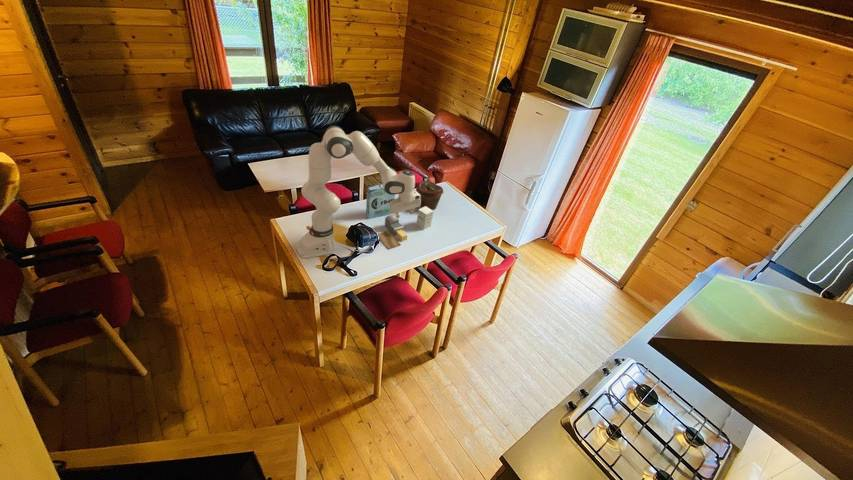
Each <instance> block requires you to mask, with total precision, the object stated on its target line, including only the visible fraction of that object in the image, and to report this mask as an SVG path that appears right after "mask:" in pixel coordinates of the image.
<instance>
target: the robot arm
mask: <svg viewBox="0 0 853 480" xmlns="http://www.w3.org/2000/svg"><path fill="white" fill-rule="evenodd" d="M320 140H321V142H314V143H313V144H311V146H309V152H308V179H307V182H305V183H303V185H302V187H301V192H300V193H301V195H302V196H303V197H304V199H305V200H307V201H308V202H309V203H310V204H313V206H315V210H314V211H313V213H312V214H311V222H312V223H311V226H309V225H306V230H307V231H308V232H307V233H306V234H304V235H303V236H302V237H301V238H300V241H299V242H298V243H297V244H296V246H295V248H296V251H297V254H299V256H300V257H302V258H304V259H310V258H317V257H323V256H327V255H331V254H332V253H333V250H334V249H335V248H336V246H337V244H336V241H335V238H334V225H333V214H335V213H337V211H338V210H339V209H340V207H341V199H340V198H339V197H338V196H337V195H336V193H334V192H332V191H331V190H330V189H328V188H327V187H326V184H327V183H329V181H330V180H331V179H332V158H334V159H343V158H345V157H346V156H349V155H351V154H353V155H354V156H355V158H356V159H357V160H358V161H359V163H361V164H362V165H364V166H365V167H371V166H372V167H373V168H374V169H375V170H376V171H377V172H378V174H379V177H380V180H381V184H383V186H384V189H385V192H386V193H388V194H390V195H395V196H396V195H398V197H397V198H395V199H393V200H392V201H391V202H390V208H389V211H390V212H391V215H393V214H396V218H398V219H399V218H400V216H401V215H400V214H399V213H402V212H405V211H409V215H413V214H414V211H415V210H416V208H419V207H420V205H421V199H420V198H421V195H420V194H419V193H418V192H417V191H416V189H415V187H416V177H415V174H414V172H413V171H412V170H409V169H402V170H401V171H400V172H399V173H398V172H397V170H396V169H394V168H393V167H391V166H389V165H388V164H387V163H386V162H385V161H384V159H383V158H382V157H381V156H380V153H379V151H378V150H377V147H376V146H375V145H374V143H372V141H371V140H370V139H369V138H368V137H367V136H366V135H365V134H364V133H363V132H362V131H359V130H355V131H352V132H351V133H349V134H346V132H345V130H343V128H342V127H340V126H338V125H330V126H329V127H327V128H326V130H325V131H324V132H323V135H322V137H321V139H320ZM414 189H415V190H414Z"/></svg>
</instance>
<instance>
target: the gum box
mask: <svg viewBox="0 0 853 480" xmlns="http://www.w3.org/2000/svg"><path fill="white" fill-rule="evenodd" d="M393 199H396V194H395V195H390V194H388V193H386V192H385V189H384V186H383V183H379V184H373V185H369V186H366V202H365V203H366V207H365V208H366V209H365V216H366V217H367V220H371V219H375V218H379V217H383V216H387V215H390V214H391V215H392V213H391V212H390V211H389V208H390V202H391V201H392V200H393Z"/></svg>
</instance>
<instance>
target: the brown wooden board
mask: <svg viewBox="0 0 853 480" xmlns="http://www.w3.org/2000/svg"><path fill="white" fill-rule="evenodd" d="M377 234H378V236H379V239H378V240H379V241H380V242H381V243H382V244H383V245H384V246H385V248H386V249H387V250H390V249H395V248H396V247H400V246H401V245H402V244H401V243H400V242H399V241H398V240H397V239H396V238H395V236H393V234H392V233H391V232H390V231H389V230H385V231H383V232H379V233H377Z"/></svg>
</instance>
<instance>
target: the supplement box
mask: <svg viewBox="0 0 853 480" xmlns="http://www.w3.org/2000/svg"><path fill="white" fill-rule="evenodd" d="M433 215H434V210H431V209H429V208H428V207H426V206H425V207H423V208H421V207H420V208H419V209H418V211H417V216H416V217H417V218H416V224H415V225H416V226H417V227H420V228H421V229H422V230H426V229H427V228H430V227H432V221H433Z"/></svg>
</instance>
